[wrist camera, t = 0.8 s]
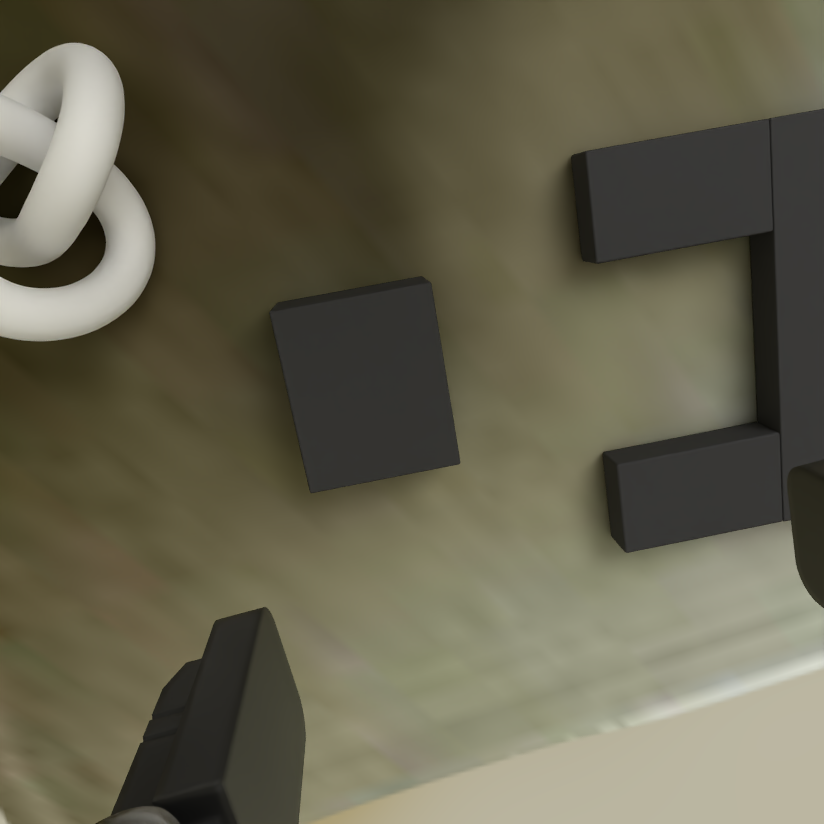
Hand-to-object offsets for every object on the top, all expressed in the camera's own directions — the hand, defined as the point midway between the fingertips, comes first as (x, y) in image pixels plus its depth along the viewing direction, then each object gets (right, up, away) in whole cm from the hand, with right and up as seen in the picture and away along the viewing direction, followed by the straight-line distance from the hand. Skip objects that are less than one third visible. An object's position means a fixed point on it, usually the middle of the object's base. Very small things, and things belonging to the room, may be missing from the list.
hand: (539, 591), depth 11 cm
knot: (-13, +10, +12) cm, 20 cm away
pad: (-4, +4, +14) cm, 15 cm away
